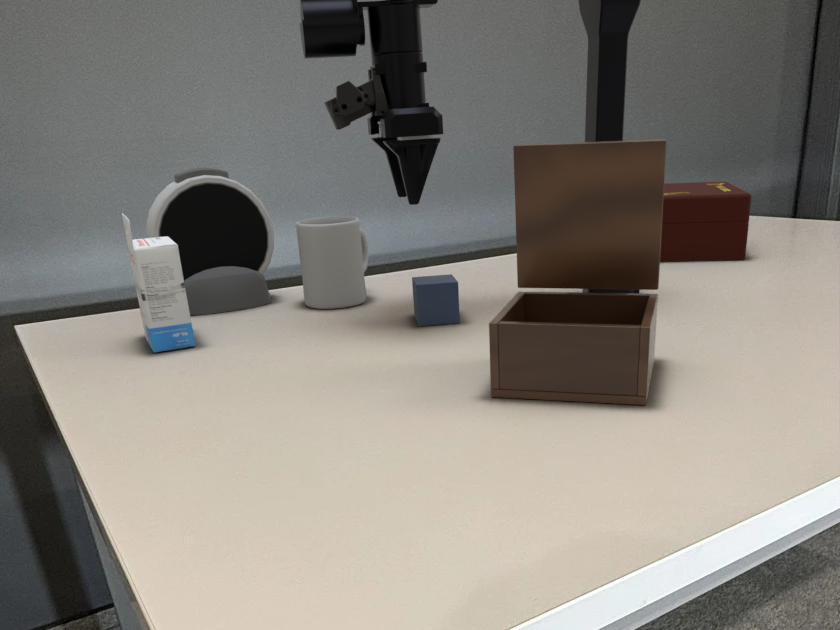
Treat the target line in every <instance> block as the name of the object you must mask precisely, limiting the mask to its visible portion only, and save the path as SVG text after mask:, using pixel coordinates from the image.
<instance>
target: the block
mask: <svg viewBox="0 0 840 630" xmlns="http://www.w3.org/2000/svg"><path fill="white" fill-rule="evenodd" d="M411 283H412V284H411V285H412V286H411V287H412V299H413V314H414V318H415V321H416V323H417V325H418V327H429V326H442V325H453V324H455V325H456V324H460V323H461V318H460V317H461V315H460V292H459V291H460V290H459V281H458V280H457V279H456V278H455V276H454V275H453V274H452V273H449V274H437V275H424V276H423V275H422V276H412V277H411Z"/></svg>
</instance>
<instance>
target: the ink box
mask: <svg viewBox="0 0 840 630" xmlns="http://www.w3.org/2000/svg"><path fill="white" fill-rule="evenodd" d="M121 216H122V218H121V219H122V223H123V229H124V233H125V238H126V244H127V249H128V254H129V259H130V264H131V270H132V275H133V281H134V285H135V292H136V296H137V302H138V305H139V311H140V315H141V320H142V325H143V330H144V336H145V340H146V341H147V343H148V346H149V347H150V349H151V351H152V353H161V352H167V351H173V350H180V349H186V348H192V347H196V340H195V339H196V338H195V334H194V329H193V323H192V317H191V315H190V312H189V306H188V301H187V295H186V290H185V285H184V279H183V273H182V267H181V261H180V255H179V250H178V245H177V244H176V243H175V242H174V241H173V240H171V239H170V238H169V237H168V236H166V237H154V238H147V237H145V238H136V239H133V234H132V229H131V221H130V219H129V218H128V216H127V215H126V214H124V213H123V212H122V213H121Z"/></svg>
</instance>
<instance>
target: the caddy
mask: <svg viewBox="0 0 840 630" xmlns="http://www.w3.org/2000/svg"><path fill="white" fill-rule="evenodd" d="M658 303H659V294H658V293H642V292H641V293H640V292H639V293H582V292H581V291H580V292H577V291H576V292H575V291H574V292H573V291H518V292H517V293H515V295H514V296H513V297H512V298H511V299H510V300H509V301H508V302H507V303H506V304H505V306H504V307H502V309H501V310H500V311H499V312H498V313H497V314H496V315H495V316H494V317H493V318H492V320H491V321H490V322H489V323H488V336H489V338H488V340H489V341H488V343H489V378H490V379H489V380H490V397H491V398H502V399H503V398H505V399H523V400H539V401H540V400H541V401H542V400H543V401H560V402H579V403H598V404H614V405H615V404H617V405H632V406H633V405H634V406H647V403H648V396H649V392H650V387H651V386H650V385H651V380H652V375H653V370H654V364H655V353H656V352H655V351H656V335H657V318H658Z"/></svg>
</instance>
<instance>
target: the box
mask: <svg viewBox="0 0 840 630" xmlns="http://www.w3.org/2000/svg"><path fill="white" fill-rule="evenodd" d="M751 204H752V194H750V193H749V192H747V191H745V190H743V189H741V188H740V187H738V186H736V185H734V184H731V183H730V182H728V181H725V180H723V181H700V182H699V181H698V182H695V181H694V182H674V183H673V182H669V183H664V198H663V216H662V234H661V252H660V263H661V262H664V263H665V262H667V263H668V262H705V261H713V262H714V261H745V260H746V255H747V254H746V253H747V245H748V236H749V227H750V226H749V223H750V216H751V215H750V214H751Z"/></svg>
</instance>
